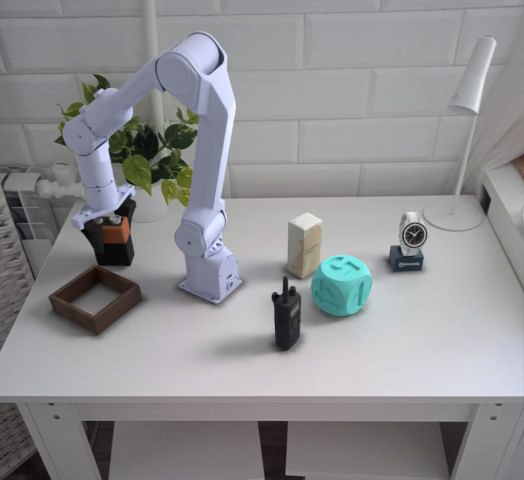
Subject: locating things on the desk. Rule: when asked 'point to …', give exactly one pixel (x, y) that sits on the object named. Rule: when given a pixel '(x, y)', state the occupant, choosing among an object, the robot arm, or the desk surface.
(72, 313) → the brown square open frame
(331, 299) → the decorative dice
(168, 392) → the desk surface
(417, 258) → the watch
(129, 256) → the battery
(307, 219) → the box
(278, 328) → the two-way radio
